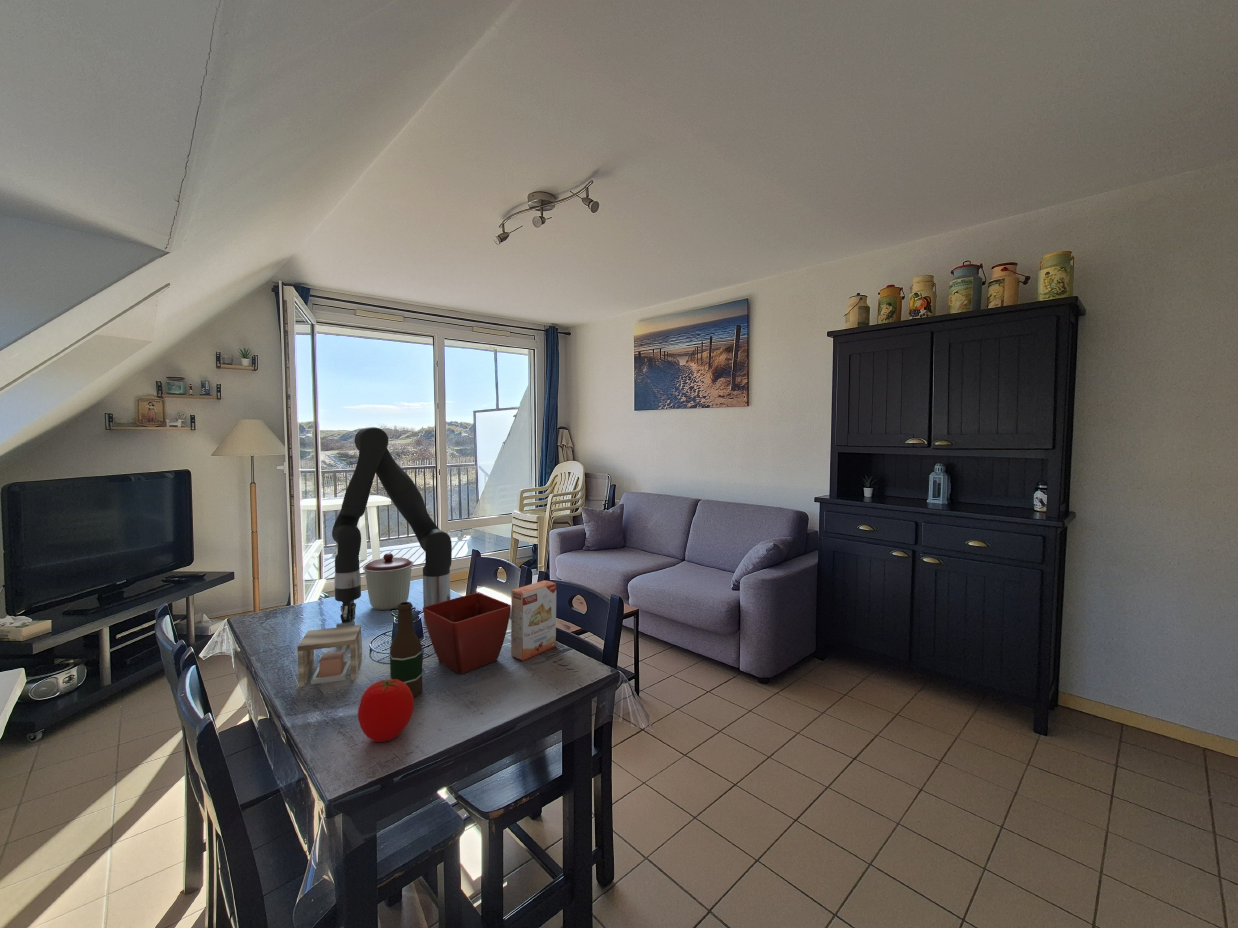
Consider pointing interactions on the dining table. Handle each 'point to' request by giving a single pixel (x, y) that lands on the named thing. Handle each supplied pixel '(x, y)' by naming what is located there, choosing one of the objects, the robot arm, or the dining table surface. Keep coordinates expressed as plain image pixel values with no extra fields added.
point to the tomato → (385, 709)
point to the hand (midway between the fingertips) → (349, 635)
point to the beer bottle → (406, 651)
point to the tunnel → (328, 640)
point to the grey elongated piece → (347, 664)
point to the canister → (388, 581)
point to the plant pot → (467, 630)
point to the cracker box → (533, 619)
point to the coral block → (331, 664)
